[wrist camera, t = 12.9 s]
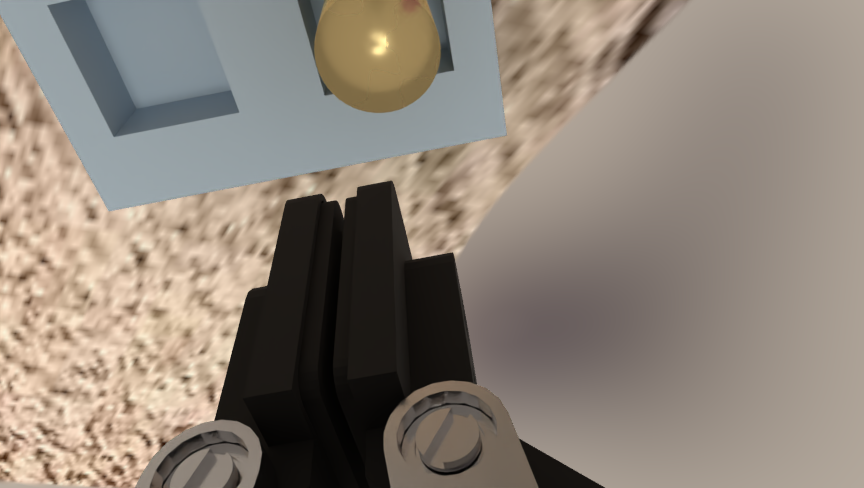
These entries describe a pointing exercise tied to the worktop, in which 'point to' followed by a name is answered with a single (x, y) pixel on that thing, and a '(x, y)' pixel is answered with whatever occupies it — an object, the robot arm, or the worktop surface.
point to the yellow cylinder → (377, 52)
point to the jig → (234, 91)
